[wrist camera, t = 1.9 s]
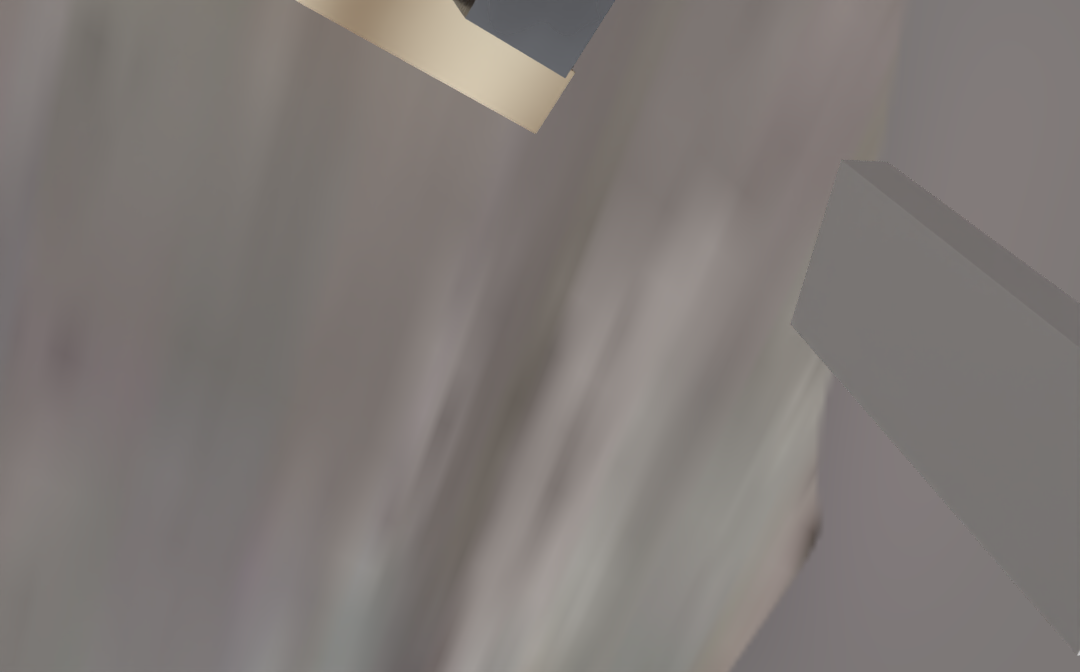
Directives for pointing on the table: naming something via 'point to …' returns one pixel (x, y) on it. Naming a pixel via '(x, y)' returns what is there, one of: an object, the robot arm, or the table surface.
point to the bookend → (540, 26)
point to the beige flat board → (453, 53)
